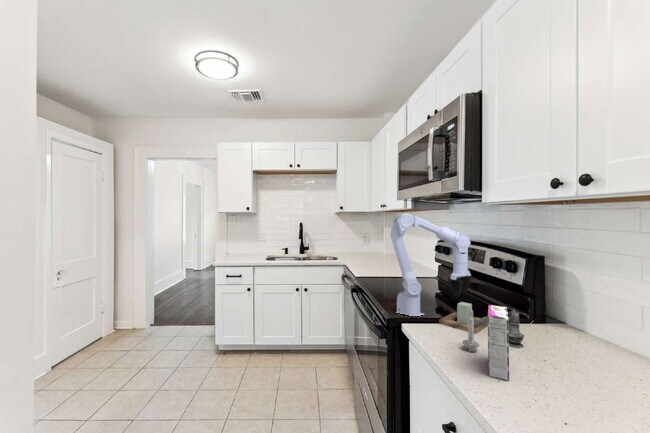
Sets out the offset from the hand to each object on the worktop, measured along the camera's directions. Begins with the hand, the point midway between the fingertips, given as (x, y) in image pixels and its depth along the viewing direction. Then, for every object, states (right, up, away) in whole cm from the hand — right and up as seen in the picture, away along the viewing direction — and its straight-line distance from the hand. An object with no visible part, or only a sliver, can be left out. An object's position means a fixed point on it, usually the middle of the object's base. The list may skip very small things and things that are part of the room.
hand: (460, 294), depth 126 cm
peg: (-2, -9, -9) cm, 13 cm away
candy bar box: (-10, -10, -44) cm, 46 cm away
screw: (-11, -10, -32) cm, 35 cm away
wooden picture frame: (-3, -9, -9) cm, 13 cm away
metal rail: (+2, -8, -13) cm, 16 cm away
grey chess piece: (+5, -10, -28) cm, 30 cm away
